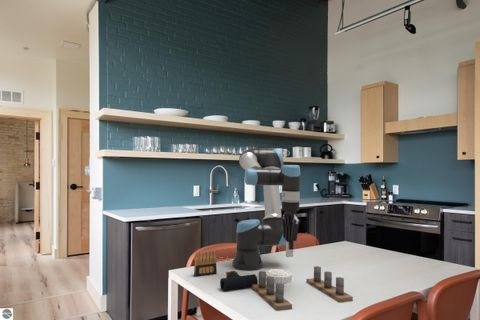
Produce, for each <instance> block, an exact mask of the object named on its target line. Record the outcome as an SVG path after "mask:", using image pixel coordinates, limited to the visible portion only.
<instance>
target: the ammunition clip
mask: <svg viewBox="0 0 480 320" xmlns="http://www.w3.org/2000/svg"><path fill="white" fill-rule="evenodd" d="M217 269H218V268H217V251H216V248H214V249H212V248H210V250H209V248H207V249H206V250H205V249H203V250H201V249H200V250H199V251H198V249H196V251H195V259H194V269H193V270H194V271H193V276H194V277H195V278H197V277H198V278H200V277H205V276H206V277H207V276H213V275H218V273H217V272H218V271H217Z"/></svg>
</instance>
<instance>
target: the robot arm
mask: <svg viewBox="0 0 480 320" xmlns="http://www.w3.org/2000/svg"><path fill="white" fill-rule="evenodd" d="M238 157H239V158H238V163H239V166H240V167H241V168H242V169H243V170H244V183H245V185H249V186H263V202H264V203H263V204H264V205H263V206H264V217H263V218H262V222H261V221H260V220H259V219H257V218H255V219H245V220H241V221H239V222H238V223H237V226H236V248H235V249H236V251H235V254H234V257H233V260H232V267H233V268H234V269H236V270H241V271H257V270H261V269H262V268H263V260H262V257H261V254H260V246H266V247H267V246H276V247H278V246H285V257H286V258H293V257H294V242H297V241H298V233H299V226H300V224H301V219H299V218H298V214H297V212H299V211H300V200H301V199H300V196H301V195H300V193H301V192H300V191H301V189H300V188H301V187H300V186H301V167H300V165H297V164H284V158H283V157H284V155H283V153H282V151H281V149H279V148H273V147H270V148H268V147H266V148H265V147H251V148H247V149H245V150H243V152H242V153H240V155H239V156H238ZM280 186H281V192H280ZM280 193H281V194H280ZM281 200H282V201H281ZM282 211H284V212H283V215H282Z"/></svg>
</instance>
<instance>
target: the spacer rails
mask: <svg viewBox="0 0 480 320" xmlns="http://www.w3.org/2000/svg"><path fill="white" fill-rule="evenodd" d="M323 278H324V279H322V267H321V266H318V265H316V266H313V277H312V278H306V279H305V280H306V281H305V282H306V284H308V285H310V286H312V287H313V288H314V289H317V290H318V291H320V292H321V293H323V294H325V295H327V296H328V297H330V298H331V299H333V300H334V301H336V302H338V303H345V302H346V303H347V302H353V300H354V298H353V295H351V294H348V293H347V292H345V278H344V277H339V276H337V277H335V286H334V285H333V273H332V271H324V273H323ZM284 284H285V283H284ZM284 284H281V283H274V277H267V280H266V271H264V270H261V271H260V270H259V271H258V284H253V285H252V287H251V289H252V290H253V291H254V292H256V294H258V295H259V296H260V297H261V298H262V299H263V300H264V301H265V302H266V303H268V304H269V306H271V307H272V308H273V309H274V310H275V311H277V312H278V311H285V310H292V309H293V304H292V303H291V302H289V300H287V299H286V298H285V297H284V295H285V285H284Z"/></svg>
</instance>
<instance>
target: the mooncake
mask: <svg viewBox="0 0 480 320" xmlns="http://www.w3.org/2000/svg"><path fill="white" fill-rule="evenodd" d="M265 272H266V281H267V277H274V284H277V283H281V284H288V283H291V282H292V281H293V280H292V279H293V273H292V272H290V271H288V270H287V269H282V268H272V269H268V270H266V271H265Z"/></svg>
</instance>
